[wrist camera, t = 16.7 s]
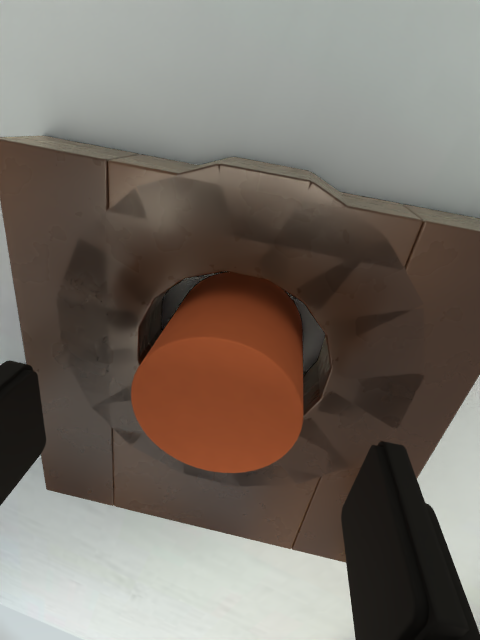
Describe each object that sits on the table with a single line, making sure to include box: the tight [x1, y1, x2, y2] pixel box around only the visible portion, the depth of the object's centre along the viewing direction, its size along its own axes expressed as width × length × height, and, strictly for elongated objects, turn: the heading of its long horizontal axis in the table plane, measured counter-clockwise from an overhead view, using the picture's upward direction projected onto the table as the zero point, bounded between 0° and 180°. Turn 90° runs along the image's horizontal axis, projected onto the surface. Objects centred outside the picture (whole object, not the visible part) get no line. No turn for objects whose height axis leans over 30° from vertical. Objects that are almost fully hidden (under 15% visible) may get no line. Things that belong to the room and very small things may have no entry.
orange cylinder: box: [131, 272, 303, 473], centre depth 13 cm, size 5×5×5 cm
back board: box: [0, 136, 480, 562], centre depth 15 cm, size 16×16×2 cm
